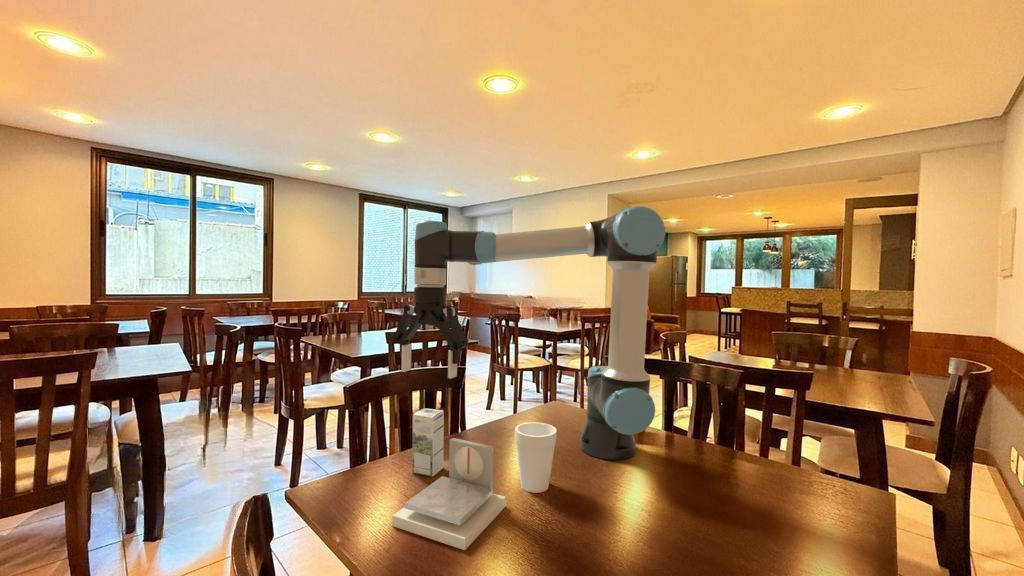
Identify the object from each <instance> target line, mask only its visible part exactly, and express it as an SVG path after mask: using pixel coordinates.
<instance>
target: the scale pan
mask: <svg viewBox="0 0 1024 576" xmlns="http://www.w3.org/2000/svg"><path fill="white" fill-rule="evenodd" d="M493 494H494V488H493V489H490V488H486V487H482V486H478V485H474V484H470V483H466V482H463V481H459V480H455V479H451V478H449V477H446V476H440V477H439V478H438V479H436V480H435V481H434V482H432V483H430V484H429V485H428V486H426V487H424V489H422V490H421V491H420V492H418V493H417V494H416V495H414V496H413V497H411V498H409V500H407V501H406V502H404V507H405V509H408V510H411V511H415V512H418V513H421V514H424V515H428V516H431V517H434V518H437V519H441V520H444V521H447V522H450V523H454V524H457V525H461V524H462V523H463V522H464V521H465V520H467V519H468V518H469V517H470V516H471V515H472V514H473V513H474V512H475V511H476V510H477V509H478V508H479V507H480V506H481V505H482V504H483V503H484V502H485V501H486V500H487V499H488V498H489V497H490V496H492V495H493Z"/></svg>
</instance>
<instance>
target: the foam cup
mask: <svg viewBox="0 0 1024 576" xmlns="http://www.w3.org/2000/svg"><path fill="white" fill-rule="evenodd" d="M557 431H558V430H557V428H556V427H555V425H551V424H548V423H544V422H537V421H535V422H531V421H529V422H524V423H520V424H517V425H516V426H515V428H514V440H515V446H516V453H517V455H516V456H517V463H518V472H519V473H518V474H519V481H520V487H521V488H522V490H523V491H526V492H529V493H532V494H533V493H536V494H537V493H542V492H543V493H544V492H546V491H547V490H548V489H549V486H550V485H549V484H550V479H551V472H552V467H553V459H554V453H555V445H556V443H557V435H558V432H557Z"/></svg>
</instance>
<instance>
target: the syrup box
mask: <svg viewBox="0 0 1024 576" xmlns="http://www.w3.org/2000/svg"><path fill="white" fill-rule="evenodd" d="M444 416H445V412H444V410H443V409H441V410H440V409H433V408H426V407H424V408H421V409H419V410H416V412H414V413H413V414H412V443H411V444H412V446H411V447H412V451H411V452H412V457H411V458H412V460H411V461H412V463H411V469H412V471H411V472H412V474H416V475H421V476H426V477H434V476H436V475H437V474H438V473H439V472H440V471H441V470H442V469H444V433H445V432H444V431H445V428H444V427H445V426H444V425H445V423H444V422H445V421H444V420H445V417H444Z"/></svg>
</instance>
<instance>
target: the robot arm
mask: <svg viewBox="0 0 1024 576" xmlns="http://www.w3.org/2000/svg"><path fill="white" fill-rule="evenodd" d="M665 237H666V226H665V223H664V220H663V219H662V217H661V216H660V215H659V213H657V212H656V211H655V210H654V209H652V208H650V207H647V206H644V205H636V206H635V205H634V206H629V207H626V208H623V209H622V210H621V211H619V212H617V213H616V214H614V215H611V216H609V217H607V218H604V219H600V220H596V221H595V220H594V221H588V222H586V223H585V224H584V225H583V226H582V225H581V226H573V227H572V226H571V227H563V228H560V227H559V228H549V229H539V230H538V229H537V230H530V231H527V230H526V231H518V232H509V233H508V232H506V233H497V234H496V233H495V232H492V231H484V230H479V231H478V230H476V231H475V230H474V231H473V230H472V231H471V230H470V231H469V230H467V231H466V230H450V229H448V225H447V222H443V221H439V220H438V221H437V220H436V221H435V220H422V221H419V222H417V223H416V225H415V236H414V280H413V281H414V285H416V286H415V287H414V288H413V301H414V302H415V305H414V304H405V305H404V306H403V314H402V315H401V318H400V321H399V322H398V325H397V327H396V330H395V333H394V335H393V337H392V341H393V342H397V343H398V345H399V358H401V372H402V373H405V372H408V371H411V370H412V343H411V342H410V341H411V339H412V338H413V337H414V336H415V334H416V333H417V332H418V330H419V329H420V328H421V326H424V325H425V326H426V325H428V326H435V328H437V329H438V331H439V332H440V333H441V335H442V337H443V338H444V340H445V341H446V343H447V344H448V346H449V348H450V349H448V352H447V357H448V358H447V379H449V380H450V379H453V378H456V377H457V376H458V364H459V363H460V361H461V349H464V348H467V347H468V345H469V343H468V341H467V339H466V336H465V332H464V331H463V328H462V325H461V323H460V320H459V318H458V312H457V311H458V309H457V307H454V306H452V307H447V308H446V300H447V289H446V287H444V286H446V285H447V262H450V263H455V262H456V263H467V264H469V265H473V266H477V265H482V264H489V263H490V264H491V263H492V264H493V263H499V262H510V261H512V262H513V261H520V260H533V259H543V258H555V257H565V256H566V257H567V256H576V255H587V256H588V257H589V258H595V257H607V258H606V261H607V262H606V263H607V265H609V266H610V267H611V269H612V283H611V301H610V302H611V303H610V305H611V306H610V322H609V323H610V324H609V325H610V326H609V339H608V340H609V341H608V342H609V343H608V359H607V365H596V366H590V368H588V371H587V372H588V373H587V377H586V379H587V398H586V399H587V402H586V403H587V404H586V407H587V408H586V421H585V424H584V426H583V429H582V432H581V435H580V438H579V448H580V449H581V451H582V452H583V453H585V454H587V455H589V456H591V457H595V458H598V459H603V460H610V461H611V460H612V461H613V460H615V461H616V460H617V461H618V460H626V459H629V458H632V457H633V456H635V455H636V448H637V445H636V443H637V442H636V440H635V436H634V435H636V434H639V433H640V434H641V432H644V431H645V430H646V429H647V428H649V427H650V425H651V424H652V423H653V420H654V418H655V415H656V404H655V401H654V400H653V397H652V396H651V395H650V388H651V387H650V386H651V375H650V374H649V373H647V371H646V370H645V357H646V356H645V355H646V342H647V341H646V340H647V323H648V321H647V320H648V303H649V302H648V301H649V285H650V271H651V270H652V269H653V268H654V267H655V266H656V265H657V261H658V250H659V249H660V247H661V246H662V244H663V243H664V241H665ZM414 315H415V317H414ZM444 316H446V318H445V317H444ZM413 317H414V318H413ZM446 319H447V320H446ZM448 324H449V325H448Z"/></svg>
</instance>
